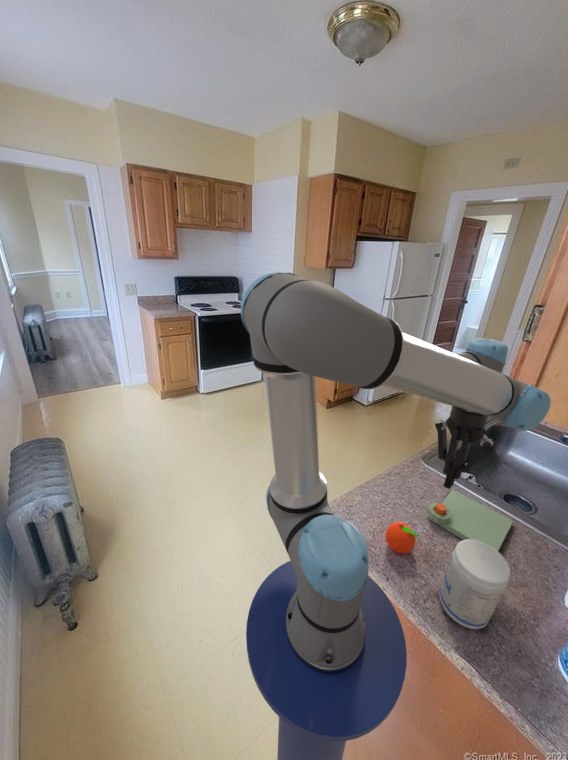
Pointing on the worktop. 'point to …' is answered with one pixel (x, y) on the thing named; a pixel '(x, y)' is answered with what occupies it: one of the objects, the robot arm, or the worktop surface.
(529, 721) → the worktop surface
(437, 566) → the worktop surface
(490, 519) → the scale
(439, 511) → the tare button
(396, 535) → the clementine
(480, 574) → the supplement tub
